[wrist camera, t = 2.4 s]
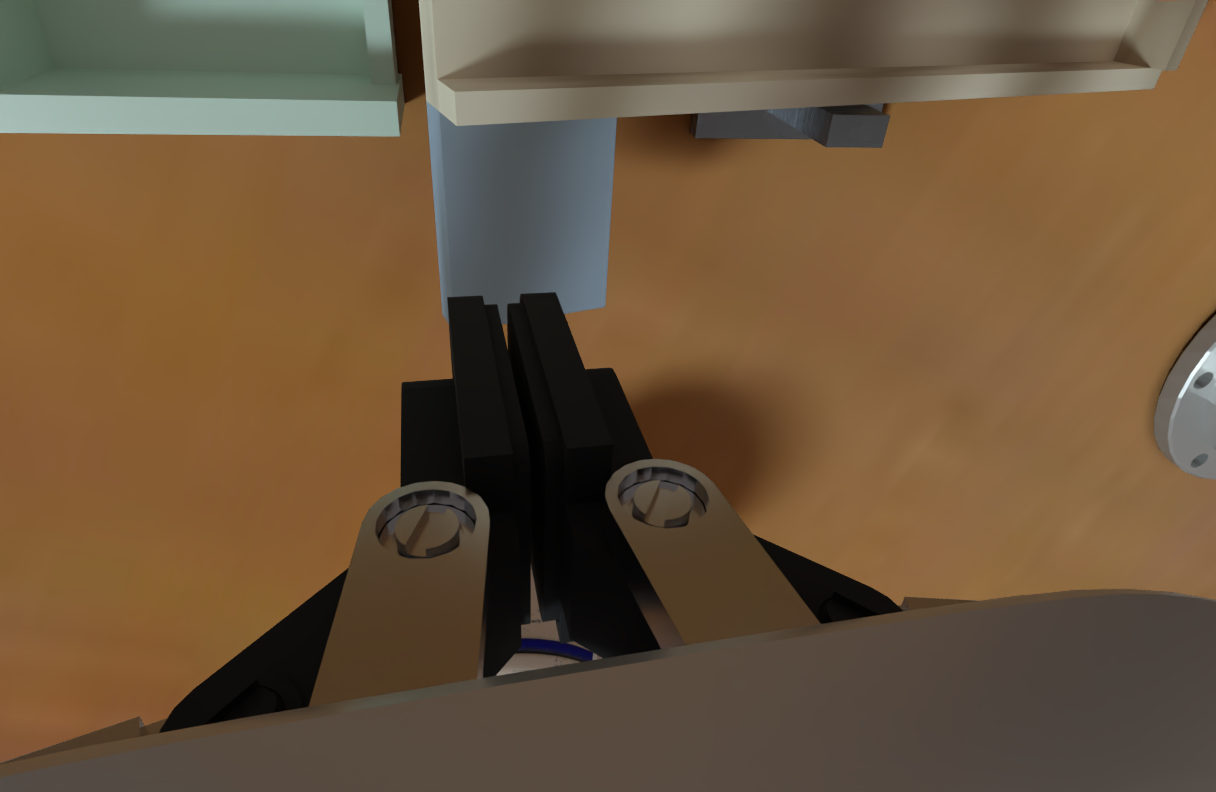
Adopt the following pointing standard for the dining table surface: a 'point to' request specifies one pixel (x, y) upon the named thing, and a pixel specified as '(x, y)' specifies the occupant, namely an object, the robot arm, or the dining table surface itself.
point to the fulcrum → (799, 125)
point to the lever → (708, 97)
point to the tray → (200, 67)
